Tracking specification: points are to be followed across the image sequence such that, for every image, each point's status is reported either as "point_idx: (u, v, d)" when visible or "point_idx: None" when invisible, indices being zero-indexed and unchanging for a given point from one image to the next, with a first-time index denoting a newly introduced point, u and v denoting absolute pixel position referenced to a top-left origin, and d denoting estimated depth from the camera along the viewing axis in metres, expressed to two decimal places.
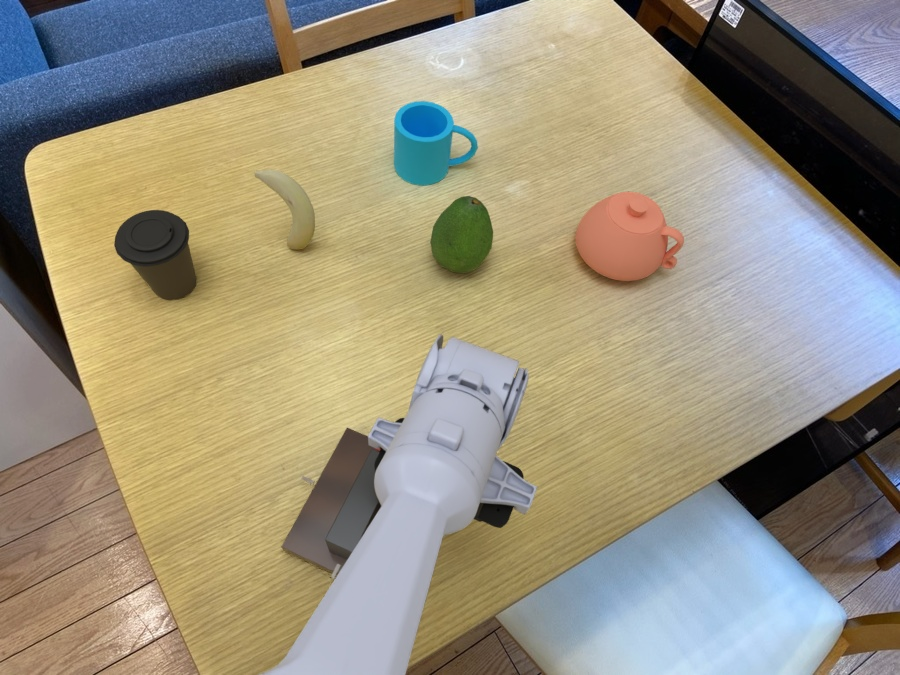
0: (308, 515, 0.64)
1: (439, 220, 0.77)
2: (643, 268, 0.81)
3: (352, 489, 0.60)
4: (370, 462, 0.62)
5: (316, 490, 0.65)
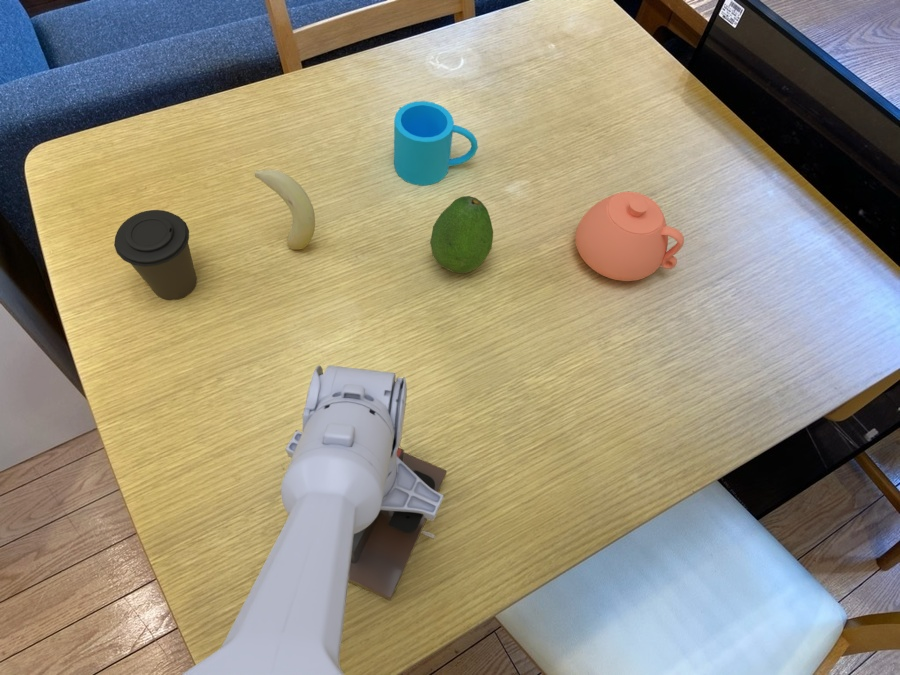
0: None
1: (439, 220, 0.77)
2: (643, 268, 0.81)
3: None
4: None
5: None
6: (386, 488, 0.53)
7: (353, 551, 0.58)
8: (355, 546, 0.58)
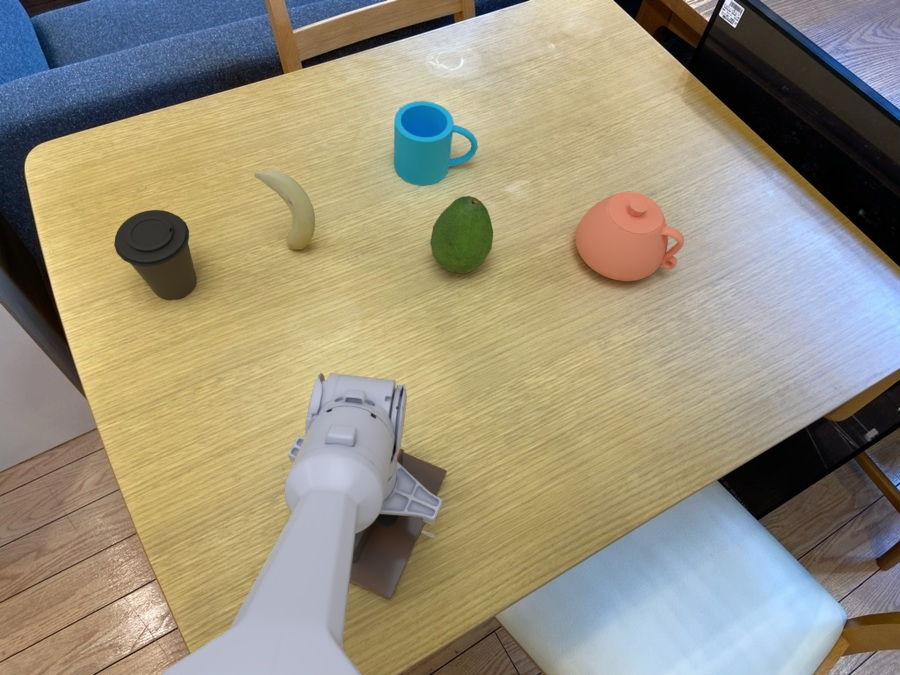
0: None
1: (439, 220, 0.77)
2: (643, 268, 0.81)
3: None
4: None
5: None
6: (386, 492, 0.54)
7: (353, 551, 0.58)
8: (355, 546, 0.58)
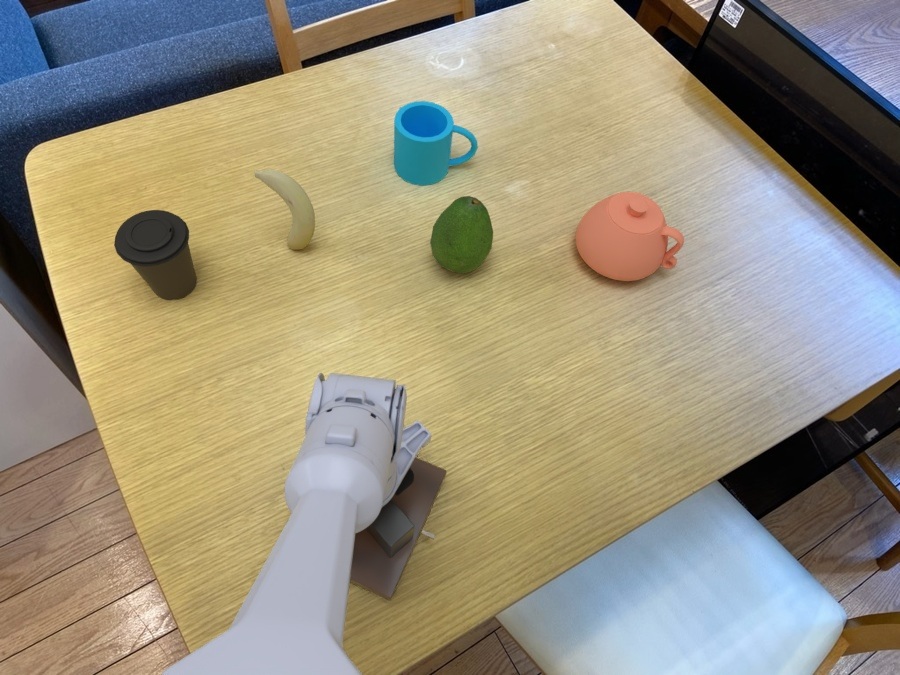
0: None
1: (439, 220, 0.77)
2: (643, 268, 0.81)
3: None
4: None
5: None
6: None
7: (413, 525, 0.59)
8: (409, 521, 0.59)
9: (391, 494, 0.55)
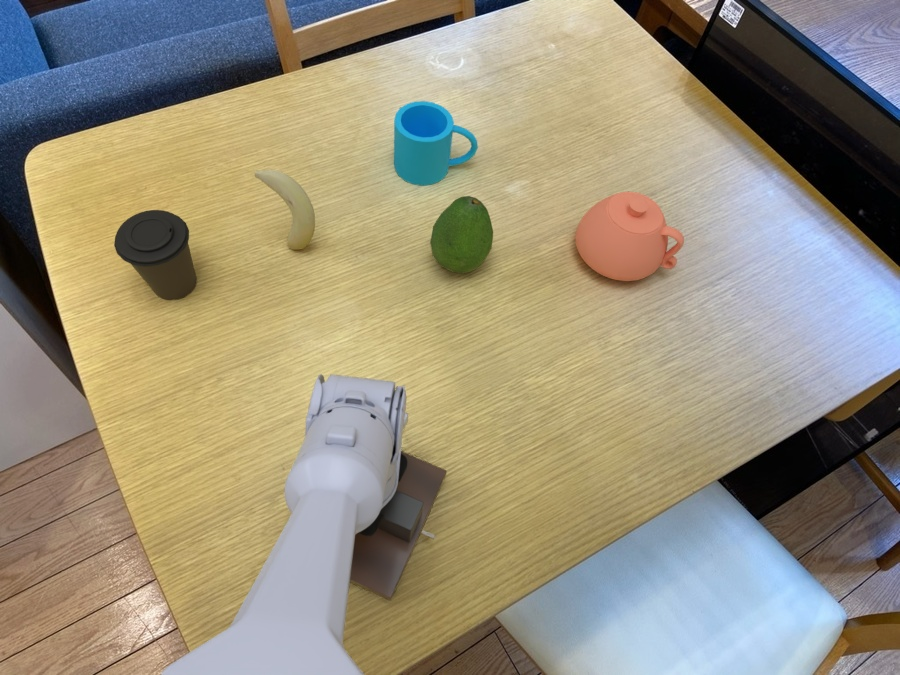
0: None
1: (439, 220, 0.77)
2: (643, 268, 0.81)
3: None
4: None
5: None
6: None
7: (422, 502, 0.60)
8: (417, 500, 0.60)
9: (396, 482, 0.56)
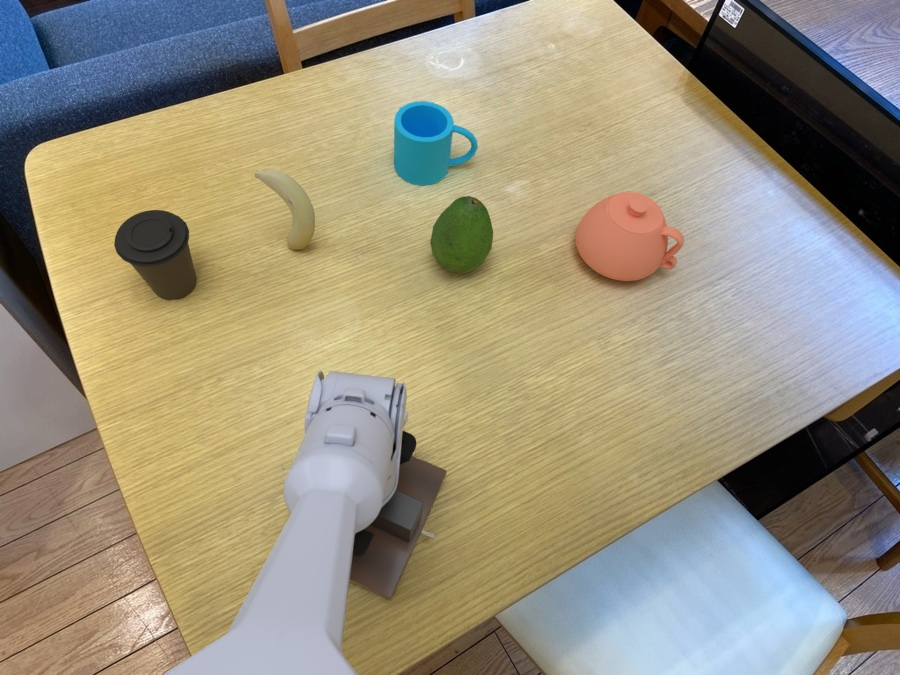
0: None
1: (439, 220, 0.77)
2: (643, 268, 0.81)
3: None
4: None
5: None
6: None
7: (422, 502, 0.60)
8: (417, 500, 0.60)
9: (396, 480, 0.56)
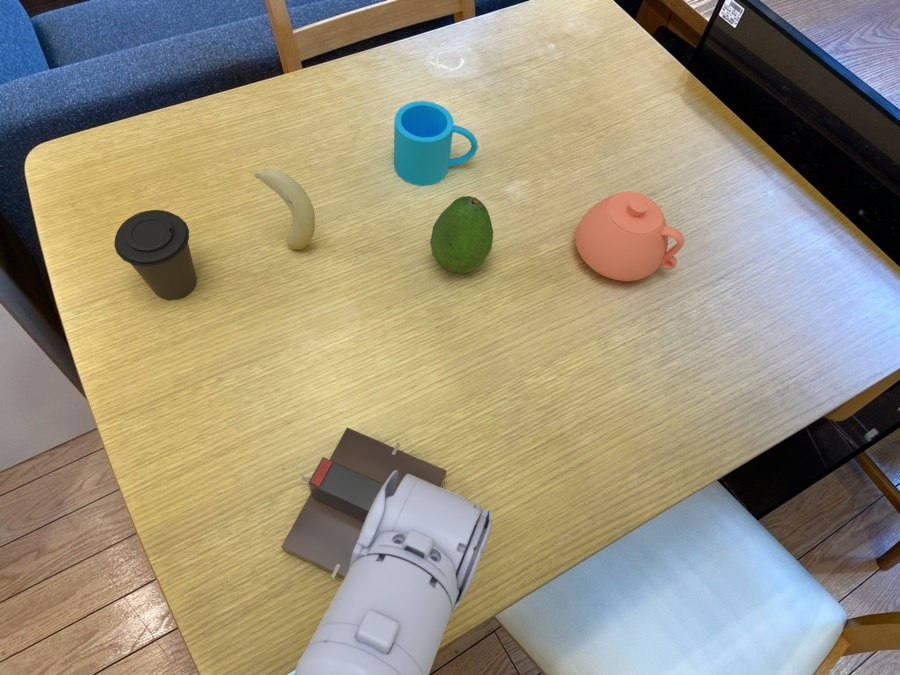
0: (308, 515, 0.64)
1: (439, 220, 0.77)
2: (643, 268, 0.81)
3: (361, 506, 0.60)
4: (334, 489, 0.60)
5: None
6: None
7: None
8: None
9: None
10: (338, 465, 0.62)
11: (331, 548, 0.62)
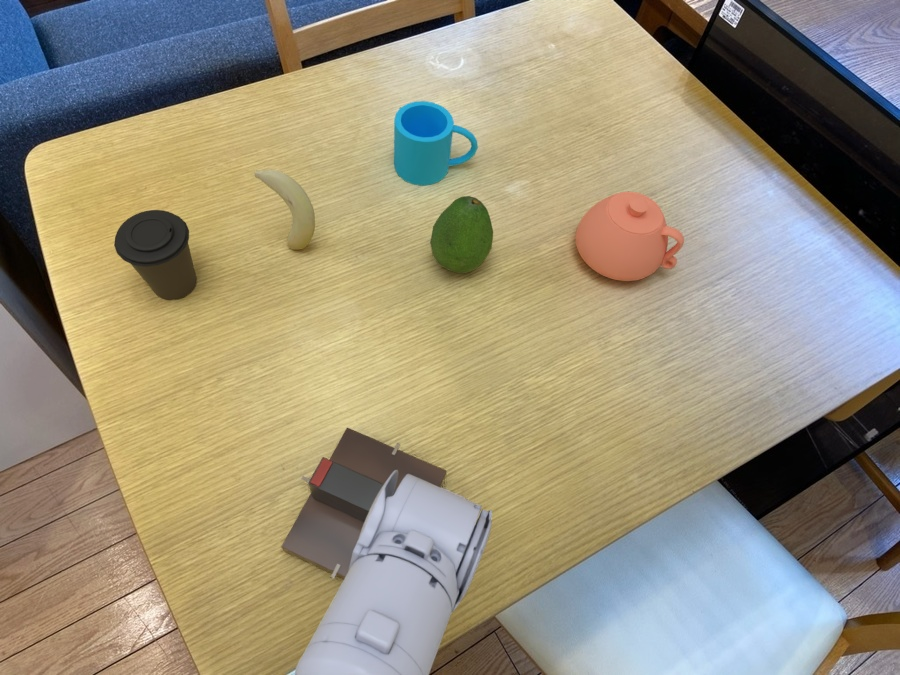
0: (308, 515, 0.64)
1: (439, 220, 0.77)
2: (643, 268, 0.81)
3: (361, 506, 0.60)
4: (334, 489, 0.60)
5: None
6: None
7: None
8: None
9: None
10: (338, 465, 0.62)
11: (331, 548, 0.62)
